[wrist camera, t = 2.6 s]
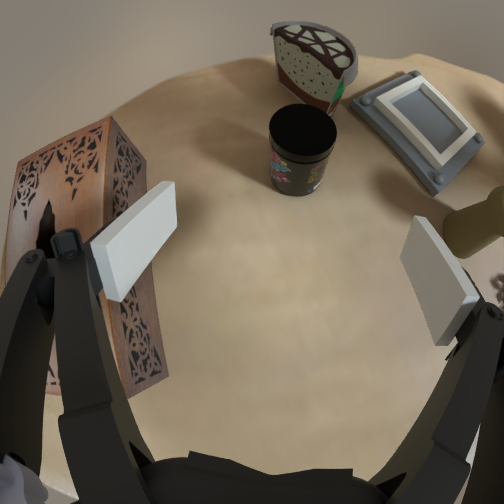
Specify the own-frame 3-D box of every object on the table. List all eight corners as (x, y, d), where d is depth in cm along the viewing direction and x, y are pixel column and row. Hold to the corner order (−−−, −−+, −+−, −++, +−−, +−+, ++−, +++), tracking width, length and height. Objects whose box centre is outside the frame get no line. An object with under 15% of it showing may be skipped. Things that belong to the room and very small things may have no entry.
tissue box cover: (61, 191, 33) (18, 161, 24) (146, 161, 33) (111, 115, 23) (71, 377, 28) (17, 389, 18) (169, 375, 27) (126, 399, 18)
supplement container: (283, 146, 32) (285, 95, 23) (329, 166, 31) (345, 119, 22) (260, 185, 31) (256, 139, 22) (309, 207, 30) (323, 167, 21)
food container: (363, 111, 32) (383, 59, 23) (332, 130, 32) (348, 74, 22) (302, 62, 35) (307, 11, 25) (270, 77, 34) (269, 22, 25)
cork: (435, 220, 29) (489, 183, 18) (464, 206, 29) (515, 172, 18) (454, 266, 27) (514, 245, 17) (482, 248, 27) (538, 225, 17)
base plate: (480, 147, 30) (489, 138, 27) (433, 196, 29) (445, 187, 26) (411, 76, 34) (416, 64, 31) (349, 106, 33) (354, 92, 30)
